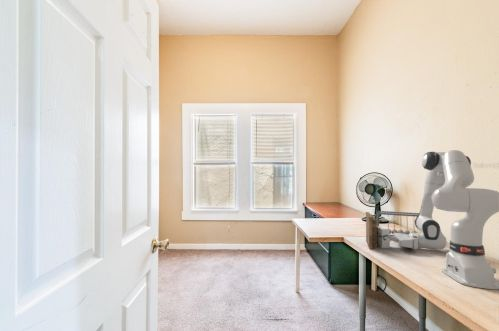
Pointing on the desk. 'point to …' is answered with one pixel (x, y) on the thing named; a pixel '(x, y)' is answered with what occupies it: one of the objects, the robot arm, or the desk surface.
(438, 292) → the desk surface
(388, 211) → the newton's cradle
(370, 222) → the headboard
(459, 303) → the desk surface
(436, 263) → the desk surface
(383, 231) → the ink box
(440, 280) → the desk surface
